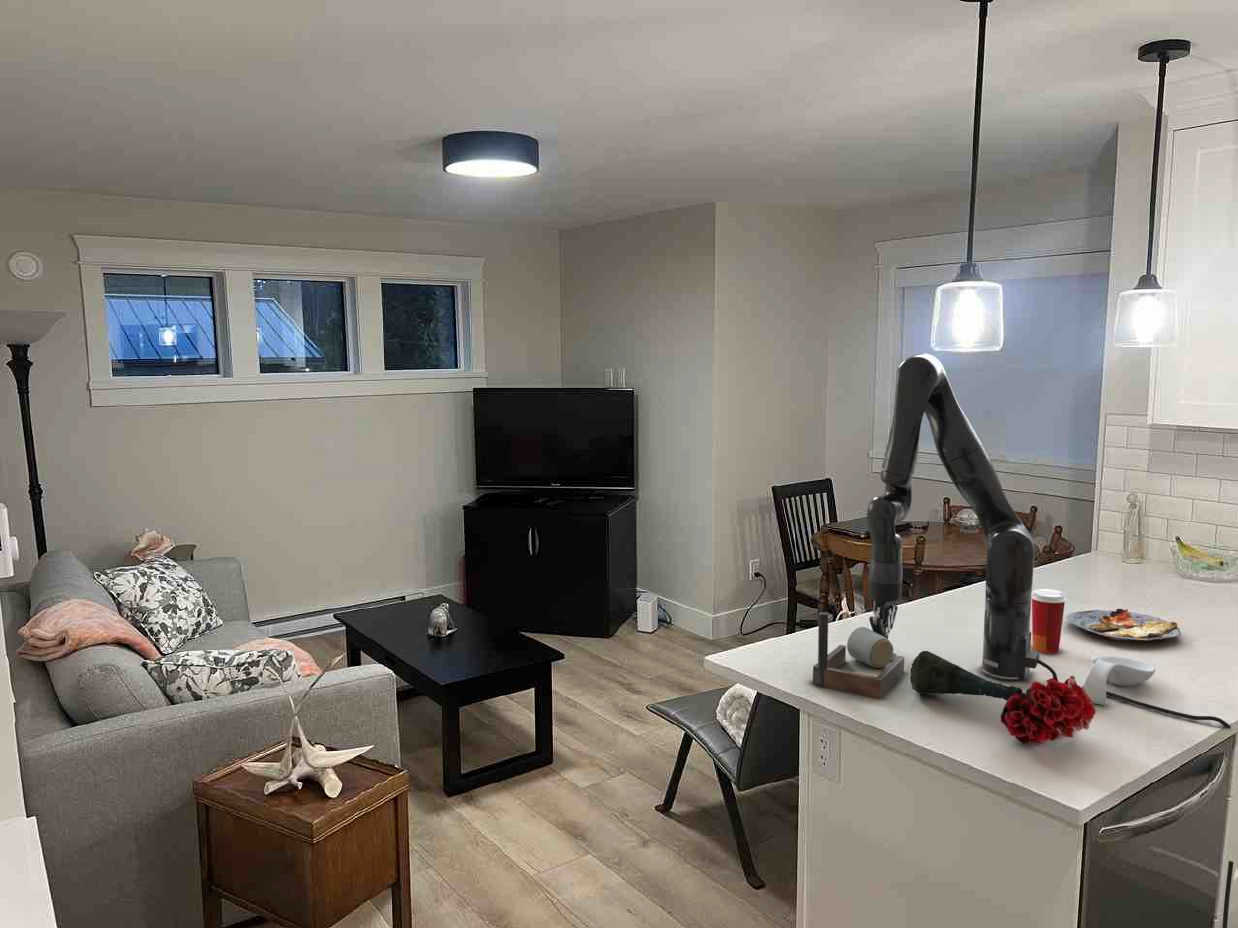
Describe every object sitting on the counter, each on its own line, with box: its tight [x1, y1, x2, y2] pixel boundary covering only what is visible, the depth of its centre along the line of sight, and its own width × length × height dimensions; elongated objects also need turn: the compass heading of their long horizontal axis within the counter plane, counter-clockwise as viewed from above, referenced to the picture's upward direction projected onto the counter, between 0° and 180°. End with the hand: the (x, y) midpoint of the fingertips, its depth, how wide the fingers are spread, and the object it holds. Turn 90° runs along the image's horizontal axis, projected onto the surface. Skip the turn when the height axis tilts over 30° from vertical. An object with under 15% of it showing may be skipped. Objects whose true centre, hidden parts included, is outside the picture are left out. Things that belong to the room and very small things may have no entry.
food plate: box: [1065, 608, 1182, 642], centre depth 226 cm, size 25×23×4 cm
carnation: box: [909, 650, 1097, 745], centre depth 174 cm, size 16×18×35 cm
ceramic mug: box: [846, 626, 898, 669], centre depth 207 cm, size 11×8×8 cm
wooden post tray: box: [812, 611, 905, 699], centre depth 196 cm, size 15×17×16 cm
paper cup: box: [1031, 588, 1067, 655], centre depth 213 cm, size 8×8×14 cm
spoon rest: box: [1083, 655, 1156, 706], centre depth 190 cm, size 24×12×7 cm, turn 135°
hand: (882, 649), depth 212 cm, fingers closed
